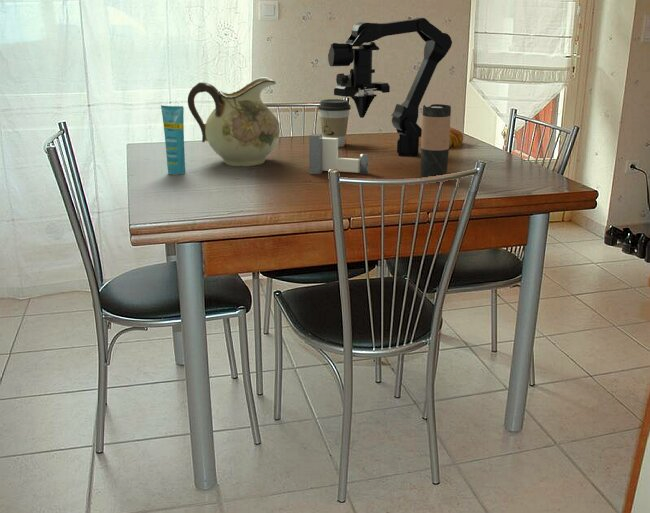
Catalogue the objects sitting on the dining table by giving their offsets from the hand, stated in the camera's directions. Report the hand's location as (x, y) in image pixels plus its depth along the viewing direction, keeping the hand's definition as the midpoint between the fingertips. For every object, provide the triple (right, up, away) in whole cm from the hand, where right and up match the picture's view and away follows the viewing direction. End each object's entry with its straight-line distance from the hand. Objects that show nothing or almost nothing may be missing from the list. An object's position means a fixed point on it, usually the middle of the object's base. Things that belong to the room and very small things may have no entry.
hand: (361, 117), depth 225 cm
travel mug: (+19, -22, -24) cm, 37 cm away
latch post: (-14, -19, -17) cm, 29 cm away
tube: (-54, -20, -17) cm, 60 cm away
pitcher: (-37, -15, -3) cm, 40 cm away
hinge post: (0, -19, -18) cm, 26 cm away
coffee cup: (-8, -5, +24) cm, 26 cm away
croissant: (+29, -5, +24) cm, 38 cm away
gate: (-8, -18, -15) cm, 25 cm away
